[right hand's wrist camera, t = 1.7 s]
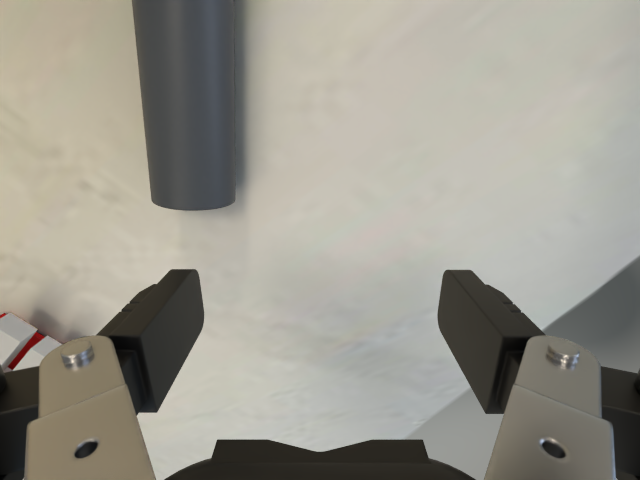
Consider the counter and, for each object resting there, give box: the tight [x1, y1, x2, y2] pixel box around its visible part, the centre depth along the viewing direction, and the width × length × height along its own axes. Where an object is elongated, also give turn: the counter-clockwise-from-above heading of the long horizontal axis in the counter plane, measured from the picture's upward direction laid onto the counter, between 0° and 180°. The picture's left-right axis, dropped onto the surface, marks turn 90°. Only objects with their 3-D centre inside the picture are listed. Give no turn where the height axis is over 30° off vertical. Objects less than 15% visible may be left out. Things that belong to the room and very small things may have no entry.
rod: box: [132, 0, 235, 210], centre depth 22 cm, size 26×6×6 cm, turn 175°
